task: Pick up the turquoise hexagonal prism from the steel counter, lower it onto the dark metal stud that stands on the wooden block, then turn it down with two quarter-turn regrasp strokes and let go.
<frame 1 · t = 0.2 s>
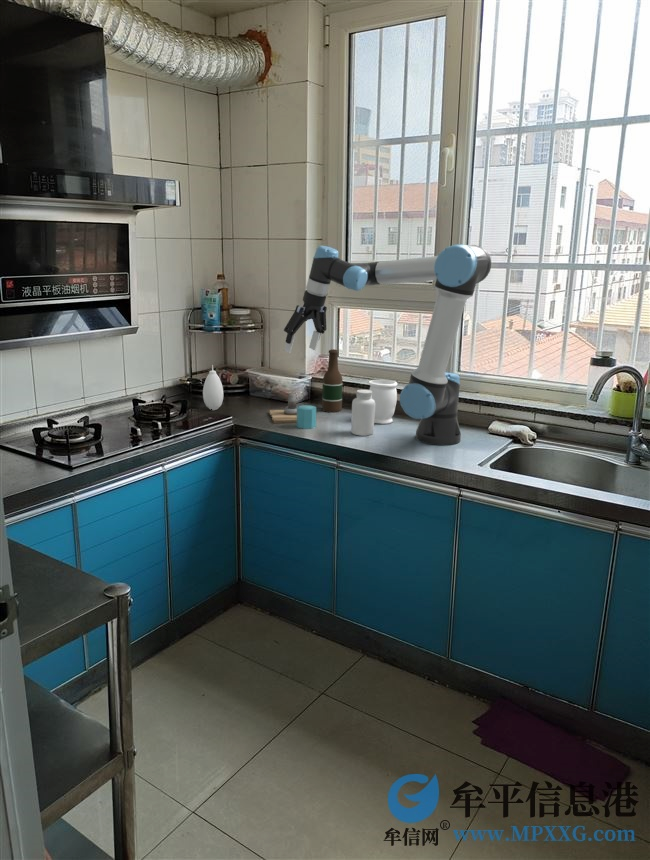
hand: (300, 350, 234), 27 cm above the worktop, tool tilted 15°, fingers open, 13 cm apart
turquoise hexagonal prism: (306, 426, 239), on the worktop
white air blower bulb: (213, 410, 259), on the worktop
pill bottle: (362, 433, 232), on the worktop
stud block: (287, 417, 250), on the worktop
jar: (381, 422, 248), on the worktop
beer bottle: (331, 410, 263), on the worktop
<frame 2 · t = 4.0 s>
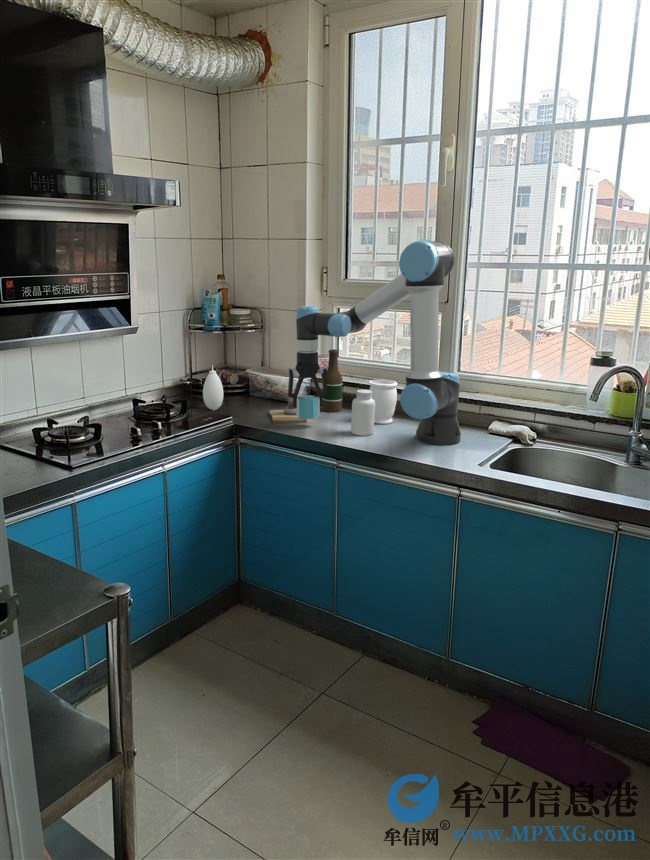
hand: (307, 415, 237), 4 cm above the worktop, tool pointing down, fingers closed on turquoise hexagonal prism, 7 cm apart
turquoise hexagonal prism: (307, 416, 237), point 4 cm above the worktop, touching gripper
everything else where it was.
when the fingers open (4 cm above the worktop, at t = 8.4 s): turquoise hexagonal prism stays where it is, resting on stud block.
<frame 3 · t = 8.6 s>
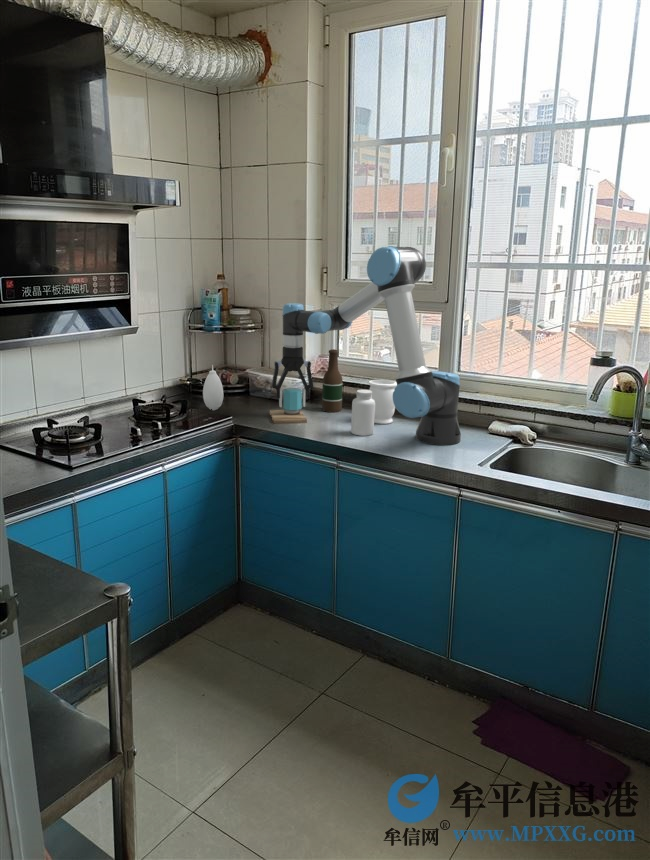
hand: (292, 406, 251), 4 cm above the worktop, tool pointing down, fingers open, 8 cm apart
turquoise hexagonal prism: (292, 408, 252), point 3 cm above the worktop, touching stud block
everything else where it was.
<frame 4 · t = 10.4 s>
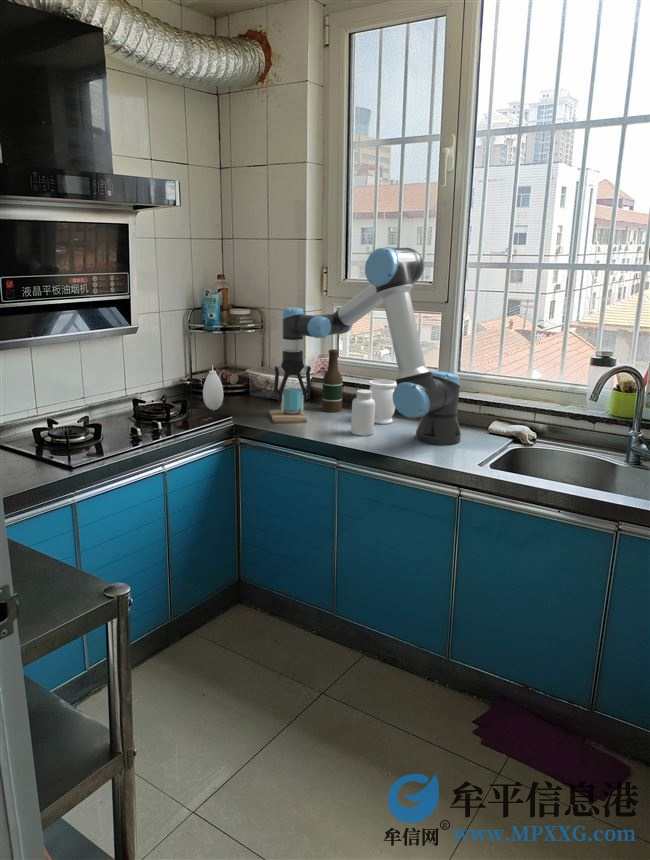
hand: (292, 410, 252), 2 cm above the worktop, tool pointing down, fingers closed on turquoise hexagonal prism, 7 cm apart
turquoise hexagonal prism: (292, 408, 252), point 3 cm above the worktop, touching gripper, stud block
everything else where it was.
when the fingers open (2 cm above the worktop, at t = 14.1 s): turquoise hexagonal prism stays where it is, resting on stud block.
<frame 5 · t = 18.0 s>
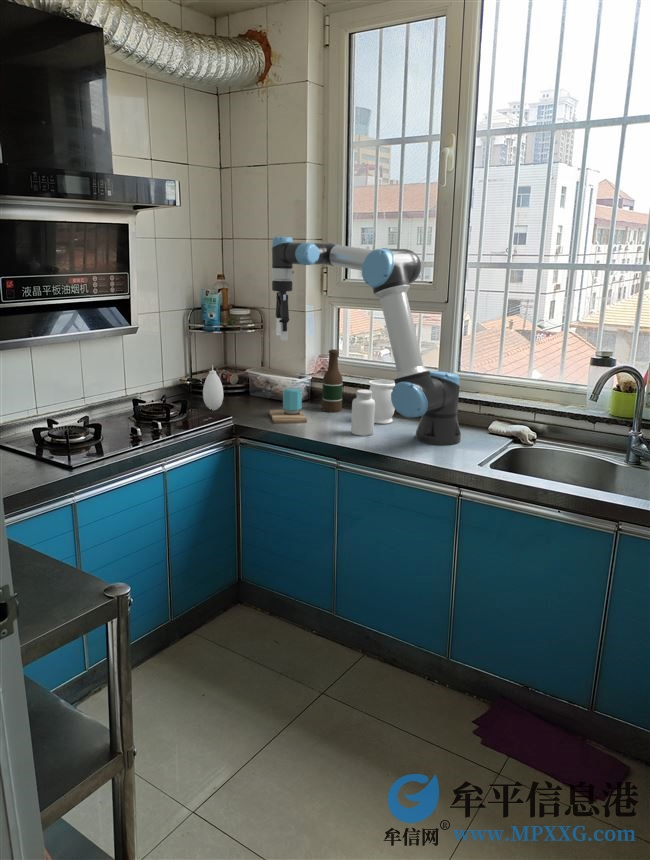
hand: (281, 337, 252), 29 cm above the worktop, tool pointing down, fingers open, 13 cm apart
turquoise hexagonal prism: (292, 408, 252), point 3 cm above the worktop, touching stud block
everything else where it was.
at the end: turquoise hexagonal prism 0.0 cm from the target spot on the stud block, point 3.2 cm above the stud block's base; turquoise hexagonal prism tilted 0°; the gripper is holding nothing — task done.
